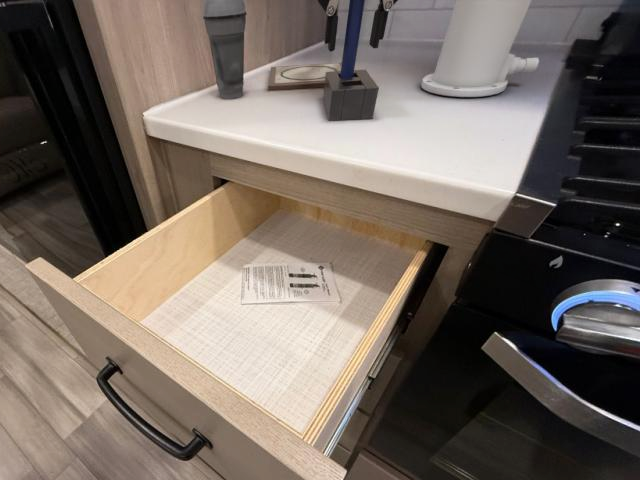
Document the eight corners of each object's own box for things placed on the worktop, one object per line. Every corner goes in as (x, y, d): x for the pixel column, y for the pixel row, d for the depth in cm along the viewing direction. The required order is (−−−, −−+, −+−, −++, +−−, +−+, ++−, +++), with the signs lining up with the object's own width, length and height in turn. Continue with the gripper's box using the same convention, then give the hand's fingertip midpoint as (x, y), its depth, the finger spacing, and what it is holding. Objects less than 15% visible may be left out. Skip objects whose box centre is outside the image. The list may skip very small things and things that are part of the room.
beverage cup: (246, 100, 58) (237, -65, 44) (208, 101, 60) (187, -59, 45) (253, 89, 63) (247, -63, 49) (217, 90, 65) (202, -58, 50)
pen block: (360, 97, 55) (365, 69, 52) (372, 119, 48) (379, 87, 45) (322, 99, 56) (325, 71, 53) (328, 120, 48) (331, 90, 45)
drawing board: (343, 66, 71) (344, 61, 70) (353, 85, 60) (354, 79, 59) (271, 71, 73) (271, 66, 72) (268, 90, 62) (268, 84, 61)
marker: (348, 102, 54) (364, -5, 44) (349, 106, 52) (366, -3, 43) (335, 102, 54) (349, -3, 45) (337, 106, 53) (351, -2, 43)
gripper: (303, -158, 33) (294, 57, 46) (481, -184, 31) (419, 48, 44) (300, -142, 38) (293, 47, 52) (454, -164, 36) (406, 39, 49)
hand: (352, 46), depth 48 cm, fingers open, 5 cm apart
